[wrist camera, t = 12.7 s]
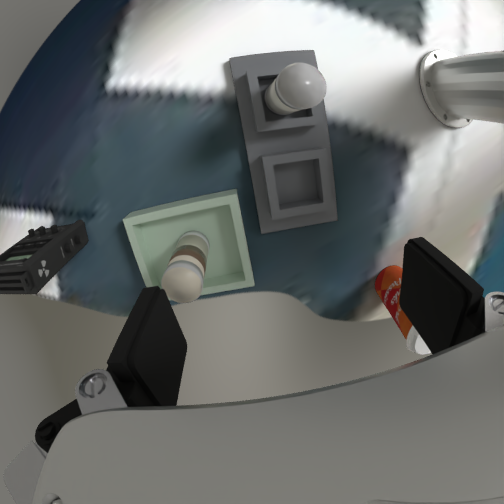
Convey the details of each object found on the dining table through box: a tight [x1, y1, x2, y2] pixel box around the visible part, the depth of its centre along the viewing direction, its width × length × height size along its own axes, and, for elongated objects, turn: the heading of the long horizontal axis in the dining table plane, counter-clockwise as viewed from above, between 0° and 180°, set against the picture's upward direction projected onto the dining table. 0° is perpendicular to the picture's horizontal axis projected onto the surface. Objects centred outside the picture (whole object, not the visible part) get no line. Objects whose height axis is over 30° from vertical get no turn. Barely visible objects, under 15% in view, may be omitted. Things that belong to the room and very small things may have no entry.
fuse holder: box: [229, 50, 337, 234], centre depth 30 cm, size 10×22×4 cm, turn 10°
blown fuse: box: [161, 230, 210, 303], centre depth 31 cm, size 4×4×10 cm
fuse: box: [264, 63, 326, 115], centre depth 24 cm, size 4×4×10 cm
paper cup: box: [375, 265, 431, 354], centre depth 34 cm, size 8×8×14 cm
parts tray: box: [123, 189, 255, 300], centre depth 35 cm, size 14×12×3 cm
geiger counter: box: [0, 220, 89, 294], centre depth 27 cm, size 10×4×15 cm, turn 93°
